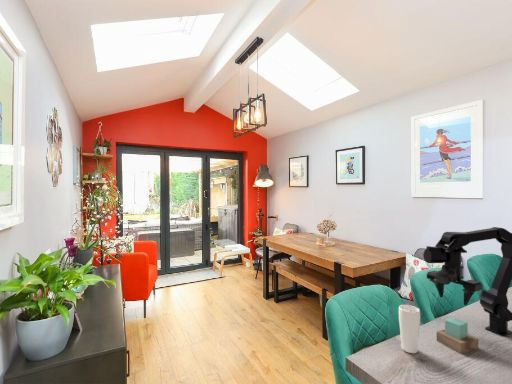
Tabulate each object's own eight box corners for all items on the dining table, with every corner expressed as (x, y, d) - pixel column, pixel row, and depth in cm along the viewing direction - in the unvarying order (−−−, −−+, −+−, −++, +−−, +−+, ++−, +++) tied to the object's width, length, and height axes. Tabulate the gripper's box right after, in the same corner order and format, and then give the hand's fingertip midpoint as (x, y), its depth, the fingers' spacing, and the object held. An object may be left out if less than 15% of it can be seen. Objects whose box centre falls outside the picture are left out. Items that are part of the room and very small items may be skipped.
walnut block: (453, 337, 108) (453, 327, 108) (478, 350, 99) (478, 338, 100) (436, 341, 105) (436, 331, 105) (460, 354, 97) (460, 343, 97)
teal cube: (453, 330, 106) (452, 317, 106) (467, 336, 101) (467, 322, 101) (445, 333, 104) (444, 319, 104) (459, 339, 99) (459, 325, 99)
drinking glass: (423, 356, 95) (423, 313, 95) (402, 354, 97) (401, 311, 97) (416, 345, 102) (415, 305, 102) (396, 343, 103) (396, 303, 103)
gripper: (417, 260, 118) (418, 296, 118) (465, 271, 101) (466, 313, 101) (434, 257, 123) (435, 292, 123) (483, 267, 106) (483, 308, 106)
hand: (453, 301), depth 113 cm, fingers open, 9 cm apart
